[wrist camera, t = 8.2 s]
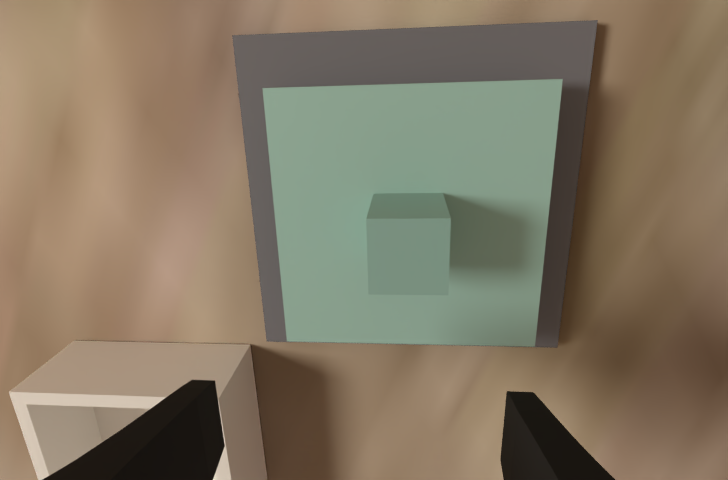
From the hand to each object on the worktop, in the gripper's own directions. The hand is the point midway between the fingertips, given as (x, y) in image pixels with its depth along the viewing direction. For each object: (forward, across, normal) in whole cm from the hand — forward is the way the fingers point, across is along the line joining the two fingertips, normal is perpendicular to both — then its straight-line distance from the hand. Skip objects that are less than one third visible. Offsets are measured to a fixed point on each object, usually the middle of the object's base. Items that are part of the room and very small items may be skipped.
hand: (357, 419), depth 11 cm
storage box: (+10, +11, +8) cm, 17 cm away
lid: (+9, -1, -3) cm, 10 cm away
